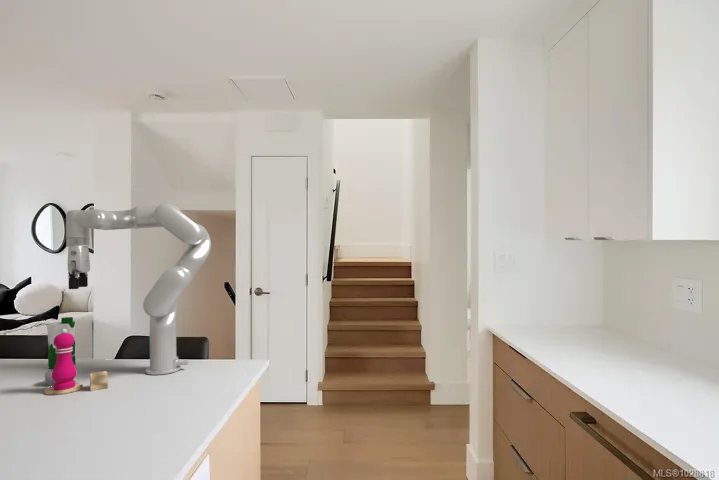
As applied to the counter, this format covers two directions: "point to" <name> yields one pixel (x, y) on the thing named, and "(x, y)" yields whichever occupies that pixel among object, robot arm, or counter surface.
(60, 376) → the pepper mill
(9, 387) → the counter surface
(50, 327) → the milk carton
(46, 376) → the grey rounded dome
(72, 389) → the cork trivet
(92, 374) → the oak block
